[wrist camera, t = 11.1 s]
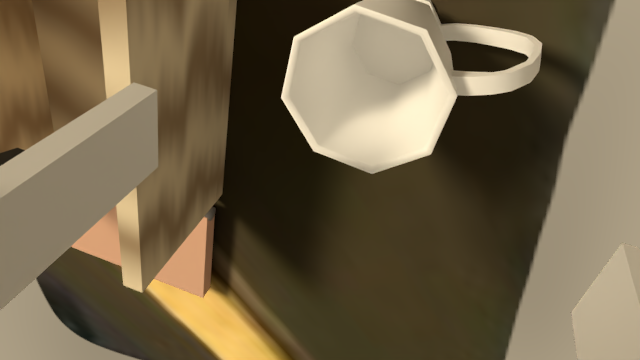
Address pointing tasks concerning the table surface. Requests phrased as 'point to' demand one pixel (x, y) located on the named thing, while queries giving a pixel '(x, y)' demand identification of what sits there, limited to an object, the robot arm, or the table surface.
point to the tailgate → (182, 268)
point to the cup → (389, 80)
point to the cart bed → (111, 77)
